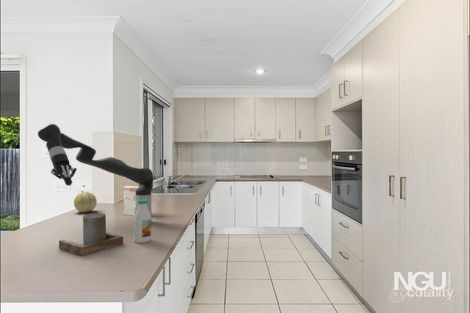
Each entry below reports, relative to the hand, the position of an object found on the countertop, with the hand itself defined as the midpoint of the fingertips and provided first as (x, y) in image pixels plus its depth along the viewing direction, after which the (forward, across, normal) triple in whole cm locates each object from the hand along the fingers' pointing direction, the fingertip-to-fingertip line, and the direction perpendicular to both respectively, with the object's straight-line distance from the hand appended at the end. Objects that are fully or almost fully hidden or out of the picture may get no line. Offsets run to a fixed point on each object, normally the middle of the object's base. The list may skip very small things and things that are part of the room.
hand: (69, 184), depth 151 cm
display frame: (+35, +3, +3) cm, 35 cm away
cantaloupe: (-9, -41, -56) cm, 70 cm away
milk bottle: (+44, -15, +15) cm, 48 cm away
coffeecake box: (+12, -54, -27) cm, 61 cm away
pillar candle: (+35, +1, +3) cm, 35 cm away
